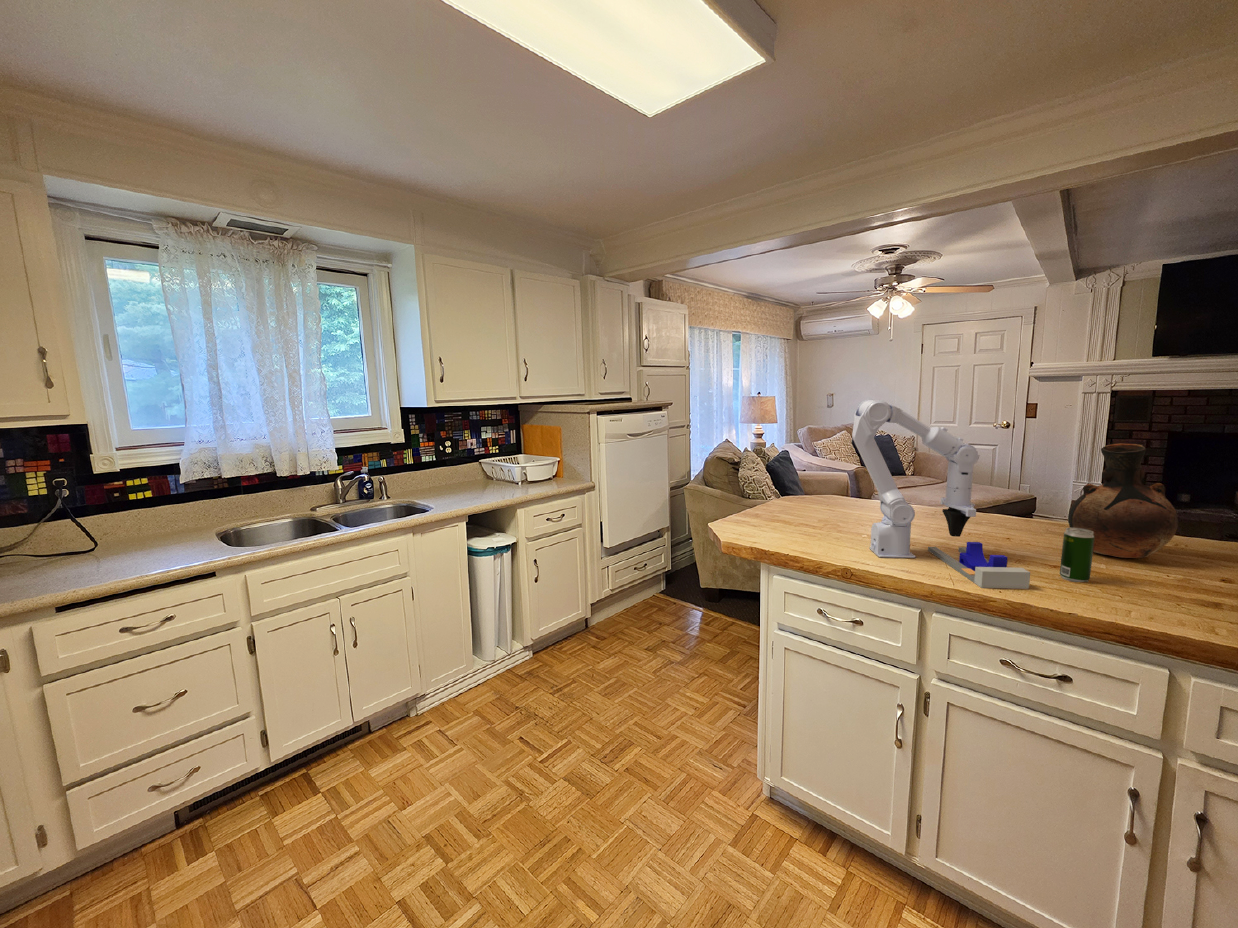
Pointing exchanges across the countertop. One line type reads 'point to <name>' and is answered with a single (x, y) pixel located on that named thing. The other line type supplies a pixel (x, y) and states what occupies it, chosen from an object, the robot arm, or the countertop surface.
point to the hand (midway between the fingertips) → (954, 535)
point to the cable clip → (980, 557)
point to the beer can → (1077, 554)
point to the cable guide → (987, 573)
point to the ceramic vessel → (1125, 507)
